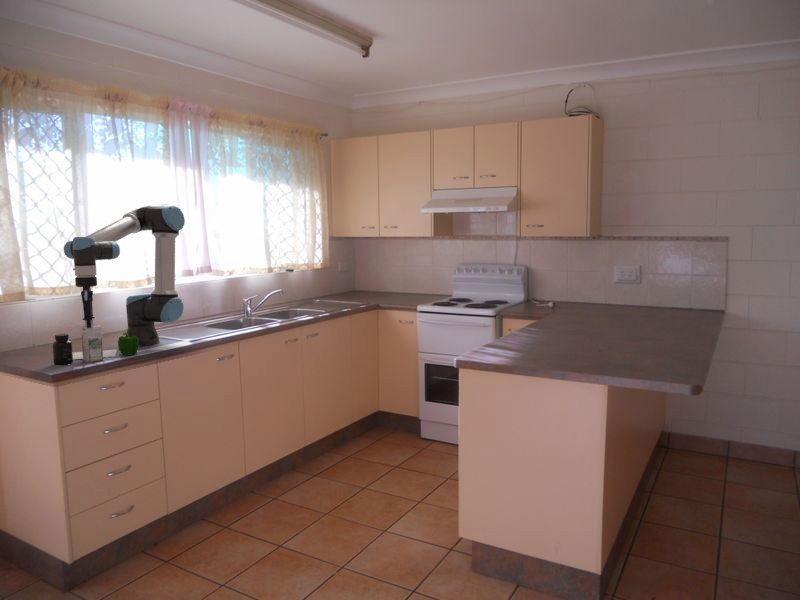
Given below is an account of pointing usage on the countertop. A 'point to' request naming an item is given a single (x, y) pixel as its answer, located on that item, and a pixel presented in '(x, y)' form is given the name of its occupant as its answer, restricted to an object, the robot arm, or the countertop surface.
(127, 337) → the bell pepper
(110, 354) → the mat
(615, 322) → the countertop surface
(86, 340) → the syrup box
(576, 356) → the countertop surface
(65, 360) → the supplement bottle
